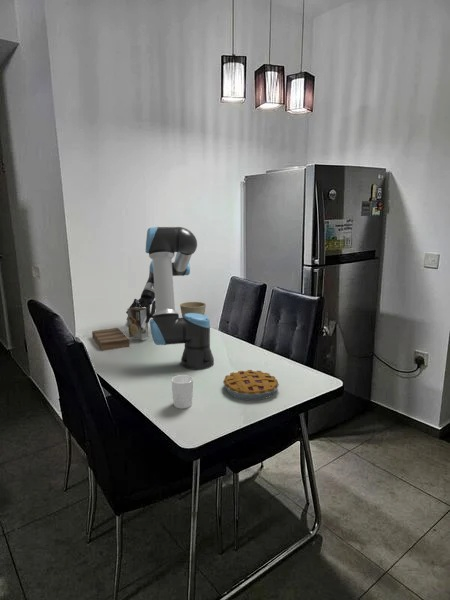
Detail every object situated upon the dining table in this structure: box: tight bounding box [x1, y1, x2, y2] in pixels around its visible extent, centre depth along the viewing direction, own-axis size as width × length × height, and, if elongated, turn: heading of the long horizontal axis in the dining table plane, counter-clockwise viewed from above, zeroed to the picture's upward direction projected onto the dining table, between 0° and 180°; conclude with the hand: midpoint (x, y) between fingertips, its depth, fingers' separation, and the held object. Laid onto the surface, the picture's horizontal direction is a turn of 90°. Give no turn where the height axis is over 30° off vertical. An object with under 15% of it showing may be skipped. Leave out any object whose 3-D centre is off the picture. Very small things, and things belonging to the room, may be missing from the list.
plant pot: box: [179, 301, 207, 318], centre depth 240 cm, size 15×15×16 cm
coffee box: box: [126, 307, 149, 340], centre depth 221 cm, size 9×6×16 cm
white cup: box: [171, 374, 194, 410], centre depth 149 cm, size 8×8×10 cm
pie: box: [222, 369, 280, 401], centre depth 162 cm, size 22×22×5 cm
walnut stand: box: [91, 327, 130, 352], centre depth 219 cm, size 24×14×4 cm, turn 29°
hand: (134, 327), depth 218 cm, fingers closed on coffee box, 9 cm apart
